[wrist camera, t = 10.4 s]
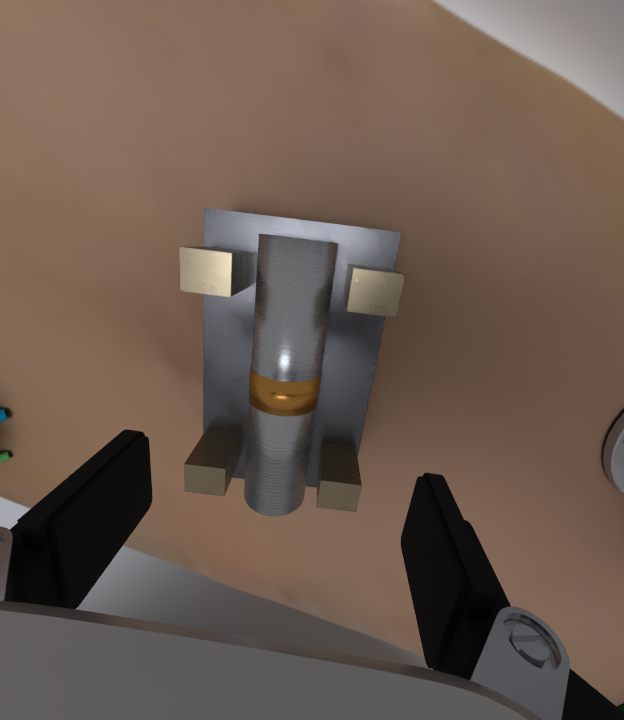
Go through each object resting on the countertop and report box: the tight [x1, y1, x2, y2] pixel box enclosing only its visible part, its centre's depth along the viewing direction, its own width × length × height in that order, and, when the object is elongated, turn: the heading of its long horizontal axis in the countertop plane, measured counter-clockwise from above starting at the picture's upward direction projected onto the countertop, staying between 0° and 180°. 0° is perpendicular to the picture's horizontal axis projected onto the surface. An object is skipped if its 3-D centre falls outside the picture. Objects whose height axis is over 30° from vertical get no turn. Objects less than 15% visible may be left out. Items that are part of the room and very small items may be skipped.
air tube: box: [244, 234, 339, 516], centre depth 19 cm, size 16×4×4 cm, turn 173°
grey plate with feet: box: [180, 208, 405, 512], centre depth 21 cm, size 11×18×9 cm, turn 173°
